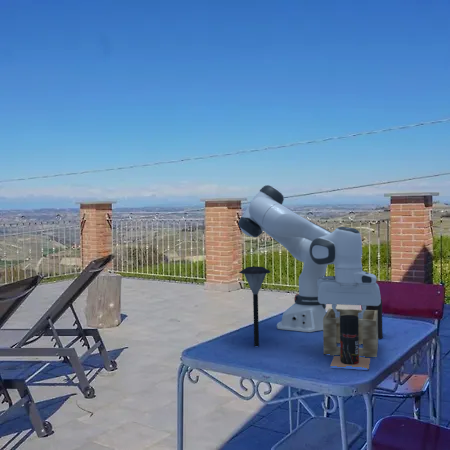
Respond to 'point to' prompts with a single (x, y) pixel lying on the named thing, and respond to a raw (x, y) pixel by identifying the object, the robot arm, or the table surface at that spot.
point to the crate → (366, 331)
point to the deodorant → (349, 339)
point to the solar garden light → (255, 292)
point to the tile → (362, 363)
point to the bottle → (378, 317)
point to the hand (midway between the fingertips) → (349, 318)
